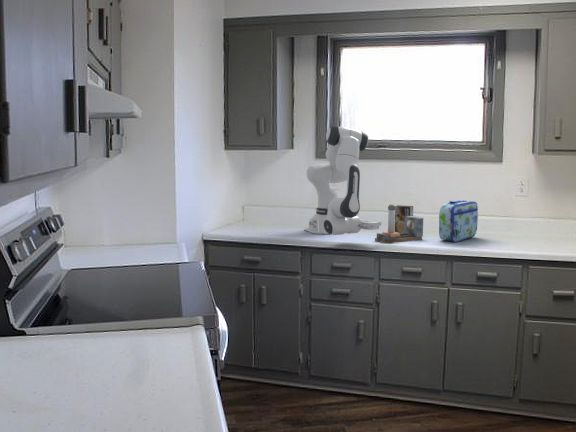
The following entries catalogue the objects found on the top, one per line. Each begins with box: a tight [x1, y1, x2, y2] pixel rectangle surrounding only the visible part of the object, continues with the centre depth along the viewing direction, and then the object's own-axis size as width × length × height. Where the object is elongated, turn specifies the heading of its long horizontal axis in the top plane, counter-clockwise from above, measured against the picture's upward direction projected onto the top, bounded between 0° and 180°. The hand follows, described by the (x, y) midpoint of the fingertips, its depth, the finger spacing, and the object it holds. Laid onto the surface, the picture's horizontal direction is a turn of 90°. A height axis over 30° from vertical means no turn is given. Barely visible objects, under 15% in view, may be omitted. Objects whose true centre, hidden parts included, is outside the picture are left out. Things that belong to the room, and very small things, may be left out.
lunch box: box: [438, 199, 479, 243], centre depth 333 cm, size 26×11×21 cm, turn 134°
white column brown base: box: [381, 203, 400, 237], centre depth 327 cm, size 7×6×16 cm
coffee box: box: [394, 204, 414, 234], centre depth 348 cm, size 9×6×16 cm
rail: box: [374, 215, 424, 244], centre depth 331 cm, size 10×25×12 cm, turn 122°
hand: (374, 222), depth 321 cm, fingers open, 8 cm apart
